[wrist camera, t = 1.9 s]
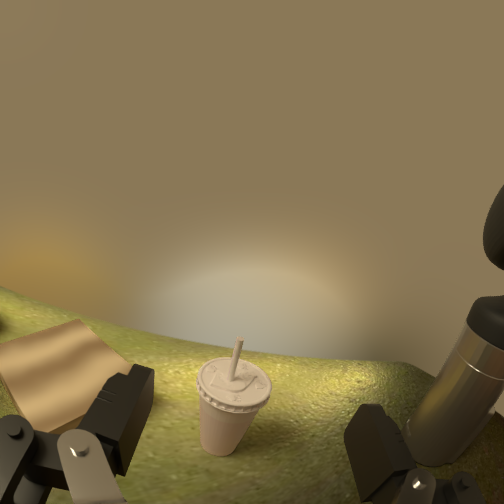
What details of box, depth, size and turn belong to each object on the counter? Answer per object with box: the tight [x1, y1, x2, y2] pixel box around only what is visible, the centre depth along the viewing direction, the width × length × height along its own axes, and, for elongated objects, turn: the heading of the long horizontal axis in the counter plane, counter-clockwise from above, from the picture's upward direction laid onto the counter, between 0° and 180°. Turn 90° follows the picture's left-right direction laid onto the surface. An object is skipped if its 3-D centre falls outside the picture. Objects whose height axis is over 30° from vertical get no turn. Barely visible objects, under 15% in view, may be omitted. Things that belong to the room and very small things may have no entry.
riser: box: [0, 319, 132, 434], centre depth 24 cm, size 14×14×4 cm
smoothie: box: [196, 337, 272, 456], centre depth 23 cm, size 6×6×14 cm
